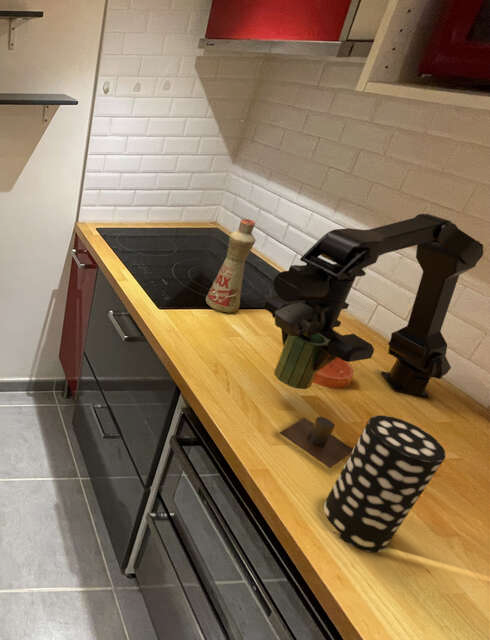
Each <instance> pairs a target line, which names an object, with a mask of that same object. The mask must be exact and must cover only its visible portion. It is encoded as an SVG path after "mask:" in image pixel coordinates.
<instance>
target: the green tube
mask: <svg viewBox="0 0 490 640" xmlns="http://www.w3.org/2000/svg"><path fill="white" fill-rule="evenodd" d="M328 342H329V339H327V338H326V337H324V336H322V335H321V334H319V333H317V334H315V335H312V336H310V337H307V336H305V335H304V334H300V335H299V336H290V335H289V334H288V337H287V339H286V342H285V344H284V347H283V346H282V350H281V352H280V354H279V357H278V360H277V362H276V365H275V367H274V370H273V375H274V376H275V378H276V379H277V380H278V381H279V382H281V383H283V384H284V385H286V386H288V387H291V388H294V389H298V390H307V389H309V388H311V387H312V385H313V384H314V383H313V380H314V378H315V376H316V374H317V371H314V370H313V368H314V364H315V362H316V360H317V358H318V356H319V353H320V349H319V347H318V346H321V345H327V344H328Z"/></svg>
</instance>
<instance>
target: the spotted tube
mask: <svg viewBox="0 0 490 640" xmlns="http://www.w3.org/2000/svg"><path fill="white" fill-rule="evenodd" d="M446 457H447V453H446V450H445V448H444V447H443V445H442V444H441V443H440V442H439V441H438V440H437V439H436V438H435V437H434V436H432V435H431V434H430V433H428V432H427V431H425V430H424V429H422V428H420V427H419V426H417V425H415V424H413V423H411V422H409V421H406V420H404V419H401V418H397V417H394V416H389V415H374V416H372V417H370V418H369V420H368V422H367V423H366V424H365V427H363V430H362V432H361V434H360V436H359V438H358V439H357V440H356V443H355V445H354V447H353V451H352V453H350V454H349V455H348V458H347V460H346V462H345V463H344V466H343V468H342V469H341V471H340V473H339V475H338V477H337V479H336V480H335V482H334V484H333V486H332V488H331V490H330V492H329V494H328V495H327V497H326V499H325V501H324V503H323V513H324V515H325V517H326V519H327V520H328V521H329V523H330V525H331V526H333V528H334V529H335V530H336V531H333V533H334V534H335V535H336V536H337V537H339V538H340V540H342V541H344V542H345V543H346V544H348V545H350V546H352V547H354V548H356V549H358V550H361V551H364V552H369V553H382V552H383V551H385V549H386V548H387V546H388V545H389V543H390V541H391V540H392V539H393V538H394V536H395V534H396V533H397V531H398V530H399V528H400V527H401V525H402V524H403V522H404V521H405V519H406V518H407V516H408V515H409V513H410V512H411V510H412V509H413V507H414V506H415V504H416V503H417V501H418V499H419V498H420V497H421V495H422V494H423V493H424V490H425V489H426V487H427V486H428V484H429V483H430V482H431V480H432V479H433V477H434V475H435V474H436V472H437V471H438V470H439V468H440V467H441V465H442V464H443V462H444V460H445V459H446ZM337 531H338V532H337Z"/></svg>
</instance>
